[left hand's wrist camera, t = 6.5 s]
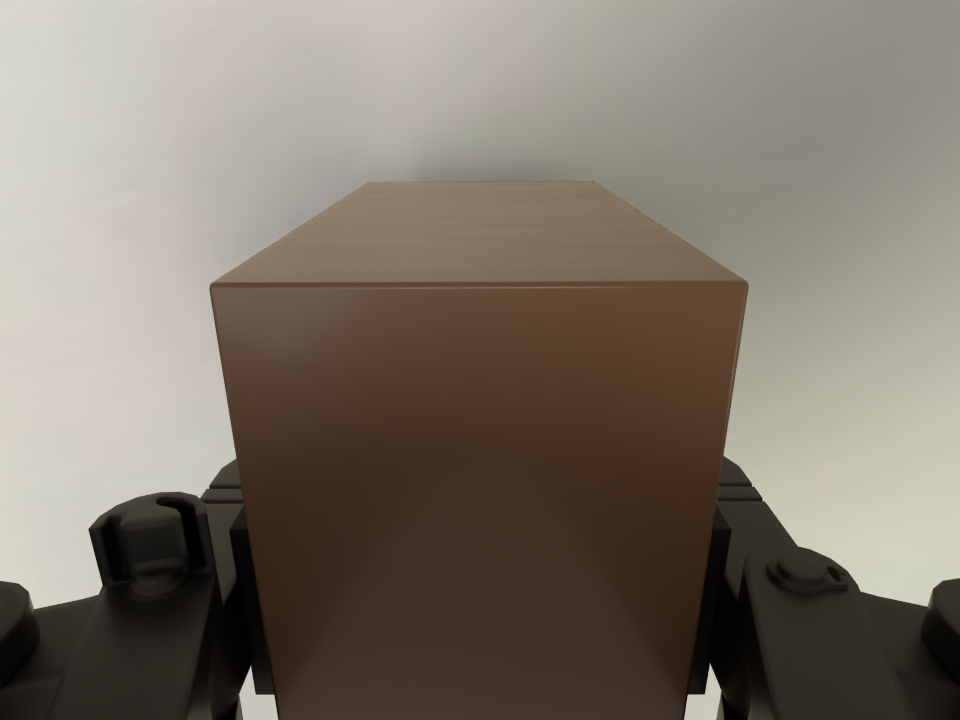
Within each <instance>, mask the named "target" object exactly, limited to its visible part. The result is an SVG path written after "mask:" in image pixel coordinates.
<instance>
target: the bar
mask: <svg viewBox="0 0 960 720" xmlns="http://www.w3.org/2000/svg"><path fill="white" fill-rule="evenodd" d="M209 289H210V295H211V302H212V308H213V314H214V320H215V327H216V333H217V339H218V345H219V352H220V358H221V364H222V370H223V377H224V383H225V389H226V395H227V402H228V408H229V414H230V420H231V427H232V433H233V439H234V445H235V452H236V458H237V464H238V470H239V477H240V483H241V489H242V495H243V502H244V508H245V514H246V520H247V527H248V533H249V539H250V545H251V552H252V558H253V564H254V570H255V576H256V583H257V589H258V595H259V601H260V608H261V614H262V620H263V626H264V633H265V639H266V645H267V651H268V658H269V664H270V670H271V676H272V683H273V689H274V695H275V701H276V708H277V714H278V720H684V716H685V709H686V702H687V696H688V689H689V682H690V676H691V669H692V662H693V655H694V649H695V642H696V635H697V629H698V622H699V615H700V608H701V602H702V595H703V588H704V582H705V575H706V568H707V561H708V555H709V548H710V541H711V535H712V528H713V521H714V514H715V508H716V501H717V494H718V487H719V481H720V474H721V467H722V461H723V454H724V447H725V440H726V434H727V427H728V420H729V414H730V407H731V400H732V393H733V387H734V380H735V373H736V367H737V360H738V353H739V346H740V340H741V333H742V326H743V320H744V313H745V306H746V299H747V293H748V283H747V281H745V280H744V279H742V278H740V277H739V276H737V275H736V274H734V273H733V272H731V271H730V270H728V269H727V268H725V267H724V266H722V265H721V264H719V263H718V262H716V261H714V260H713V259H711V258H710V257H708V256H707V255H705V254H704V253H702V252H701V251H699V250H698V249H696V248H695V247H693V246H692V245H690V244H688V243H687V242H685V241H684V240H682V239H681V238H679V237H678V236H676V235H675V234H673V233H672V232H670V231H669V230H667V229H666V228H664V227H662V226H661V225H659V224H658V223H656V222H655V221H653V220H652V219H650V218H649V217H647V216H646V215H644V214H643V213H641V212H640V211H638V210H636V209H635V208H633V207H632V206H630V205H629V204H627V203H626V202H624V201H623V200H621V199H620V198H618V197H617V196H615V195H614V194H612V193H610V192H609V191H607V190H606V189H604V188H603V187H601V186H600V185H598V184H597V183H595V182H593V181H474V182H368V183H367V184H365V185H364V186H362V187H360V188H359V189H357V190H356V191H354V192H353V193H351V194H350V195H348V196H346V197H345V198H343V199H342V200H340V201H339V202H337V203H336V204H334V205H332V206H331V207H329V208H328V209H326V210H325V211H323V212H322V213H320V214H318V215H317V216H315V217H314V218H312V219H311V220H309V221H308V222H306V223H304V224H303V225H301V226H300V227H298V228H297V229H295V230H294V231H292V232H290V233H289V234H287V235H286V236H284V237H283V238H281V239H280V240H278V241H276V242H275V243H273V244H272V245H270V246H269V247H267V248H266V249H264V250H263V251H261V252H259V253H258V254H256V255H255V256H253V257H252V258H250V259H249V260H247V261H245V262H244V263H242V264H241V265H239V266H238V267H236V268H235V269H233V270H231V271H230V272H228V273H227V274H225V275H224V276H222V277H221V278H219V279H217V280H216V281H214V282H213V283H211V284H210V288H209Z"/></svg>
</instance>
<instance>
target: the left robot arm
mask: <svg viewBox="0 0 960 720" xmlns="http://www.w3.org/2000/svg"><path fill="white" fill-rule="evenodd" d="M89 533H90V537H91V541H92V545H93V549H94V553H95V557H96V561H97V565H98V569H99V572H100V576H101V580H102V584H103V586H102V588H101V591H100V593H99V595H96V596H93V597H89V598H85V599H81V600H76V601H72V602H67V603H62V604H57V605H53V606H48V607H43V608H39V609H34V608H33V605H32V601H31V598H30V595H29V592H28V591H27V590H26V589H25V588H23V587H22V586H21V585H20V584H17V583H11V582H4V581H0V720H243V715H242V708H241V702H240V697H239V693H240V690H241V688H242V685H243V683H244V681H245V678H246V676H247V673H248V671H249V669H250V666H251V668H252V674H253V680H254V686H255V692H256V695H274V689H273V683H272V676H271V670H270V664H269V658H268V651H267V645H266V639H265V633H264V626H263V620H262V614H261V608H260V601H259V595H258V589H257V583H256V576H255V570H254V564H253V558H252V552H251V545H250V539H249V533H248V527H247V520H246V514H245V508H244V502H243V495H242V489H241V483H240V477H239V470H238V464H237V459H235V460H234V461H232V462H231V463H229V464H228V465H226V466H225V467H223V468H222V469H221V470H220V472H219V473H218V474H217V476H216V477H215V479H214V480H213V481H212V483H211V484H210V485H209V489H207V490H206V491H205V492H204V494H203V495H202V496H201V498H200V499H199V498H198V497H197V496H195V495H191V494H187V493H182V492H160V493H155V494H150V495H145V496H141V497H137V498H134V499H132V500H129V501H127V502H124V503H122V504H119V505H117V506H115V507H114V508H112V509H110V510H109V511H107V512H106V513H104V514H103V515H101V516H99V518H98V519H97V520H96V521H95V522H94V523H93V524H92V526H91V527H90V528H89ZM710 664H711V666H712V669H713V671H714V673H715V676H716V678H717V681H718V683H719V685H720V688H721V690H722V691H721V697H720V702H719V708H718V714H717V719H716V720H960V578H959V579H952V580H946V581H942V582H941V583H940V584H938V585H937V586H936V587H935V588H934V589H933V591H932V594H931V597H930V601H929V604H928V607H926V606H921V605H916V604H912V603H907V602H902V601H897V600H893V599H888V598H883V597H878V596H875V595H871V594H867V593H864V592H860V590H859V587H858V585H857V584H856V582H855V581H854V579H853V578H852V577H851V575H850V574H849V573H848V571H847V570H845V569H844V568H843V567H841V566H840V565H839V564H837V563H836V562H835V561H833V560H832V559H830V558H828V557H826V556H824V555H821V554H819V553H817V552H815V551H813V550H810V549H806V548H802V547H798V546H797V545H796V543H795V542H794V541H793V539H792V538H791V537H790V535H789V534H788V532H787V531H786V530H785V528H784V527H783V526H782V524H781V523H780V521H779V520H778V519H777V517H776V516H775V515H774V513H773V512H772V511H771V509H770V508H769V506H768V505H767V504H766V502H763V501H762V497H761V495H760V494H759V493H758V491H757V490H756V489H755V487H752V483H751V482H750V480H749V479H748V478H747V476H746V475H745V474H744V472H743V471H742V469H741V468H740V467H739V466H738V465H737V464H735V463H734V462H732V461H730V460H729V459H727V458H726V457H724V456H723V461H722V467H721V474H720V481H719V487H718V494H717V501H716V508H715V514H714V521H713V528H712V535H711V541H710V548H709V555H708V561H707V568H706V575H705V582H704V588H703V595H702V602H701V608H700V615H699V622H698V629H697V635H696V642H695V649H694V655H693V662H692V669H691V676H690V682H689V689H688V694H705V689H706V683H707V677H708V671H709V665H710Z"/></svg>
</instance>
